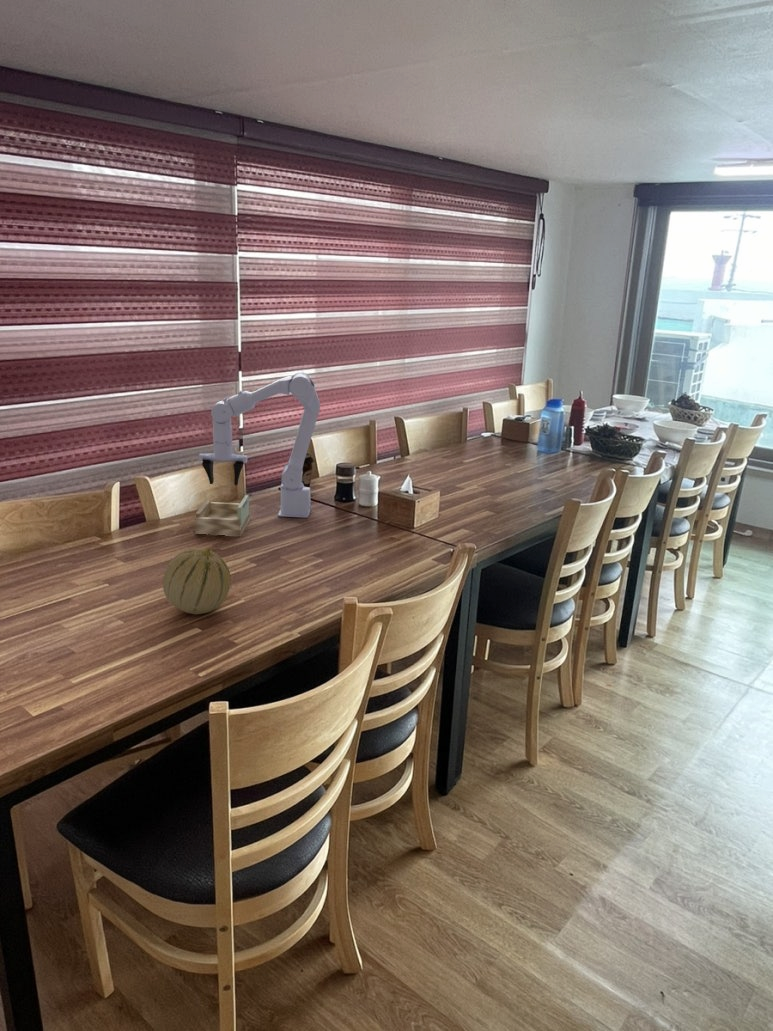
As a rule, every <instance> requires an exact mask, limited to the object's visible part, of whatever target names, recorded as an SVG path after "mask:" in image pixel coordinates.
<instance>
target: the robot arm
mask: <svg viewBox="0 0 773 1031" xmlns="http://www.w3.org/2000/svg"><path fill="white" fill-rule="evenodd" d="M290 393H291V394H292V396H293V397H294V398H296V400H298V401H299V402H300V404H301V406H302V407H303V408H304V409H303V412H302V416H301V419H300V423H299V426H298V428H297V429H298V430H297V433H296V437H295V439H294V443H293V447H292V450H291V454H290V455H289V456H290V457H289V459H288V462H287V464H285V465H284V467H283V468H282V475H281V477H280V478H281V484H280V509H279V511H278V513H277V516H278V517H283V518H285V517H287V518H288V517H289V518H304V519H305V518H307V519H308V518H309V515H310V513H311V508H312V505H311V493H312V492H311V487H310V488H309V487H304V484H303V483H302V474H303V470H302V468H303V464H304V460H305V457H306V454H307V453H308V450H309V447H310V443H311V441H312V440H311V439H312V436H313V434H314V429H315V426H316V424H317V420H318V417H319V413H320V410H321V402H320V399H319V396H318V393H317V390H316V386H315V383H314V381H313V380H312V379H311V377H310V375H308V374H307V373H305V372H296V373H295V374H293V375H287V376H285V377H283V378H279V379H278V380H276V381H273V382H271V383H269V384H266V385H265V386H263V387H261V388H259V389H257V390H255V391H252V392H251V391H248V390H244V391H243V390H239V391H237V394H235V395H233V396H230V397H224V398H223V399H222V400H221V401H220V400H219V401H218V402H216V403H215V404H214V405H213V407H212V408H211V411H210V415H211V418H212V442H213V443H212V445H213V446H212V448H213V452H211V453H208V452H207V453H199V454H198V461H199V462H201V466H202V468H203V469H204V470H205V473H206V475H207V477H208V481H209V485H213V484H214V478H215V476H214V462H227V463H229V462H230V463H233V470H234V482H233V483H234V486H238V484H239V479H240V474H241V471H242V470H243V467H244V465H245V464H247V462H248V455H245V454H244V455H243V454H238V453H237V454H235V453H233V451H234V450H233V426H232V418H231V417H237V416H240V415H241V414H244V413H247V412H248V411H250V410H253V409H255V407H256V404H257V403H258V402H261V401H263V400H266V399H268V398H272V397H273V396H276V395H279V394H282V395H286V396H289V395H290Z"/></svg>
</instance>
